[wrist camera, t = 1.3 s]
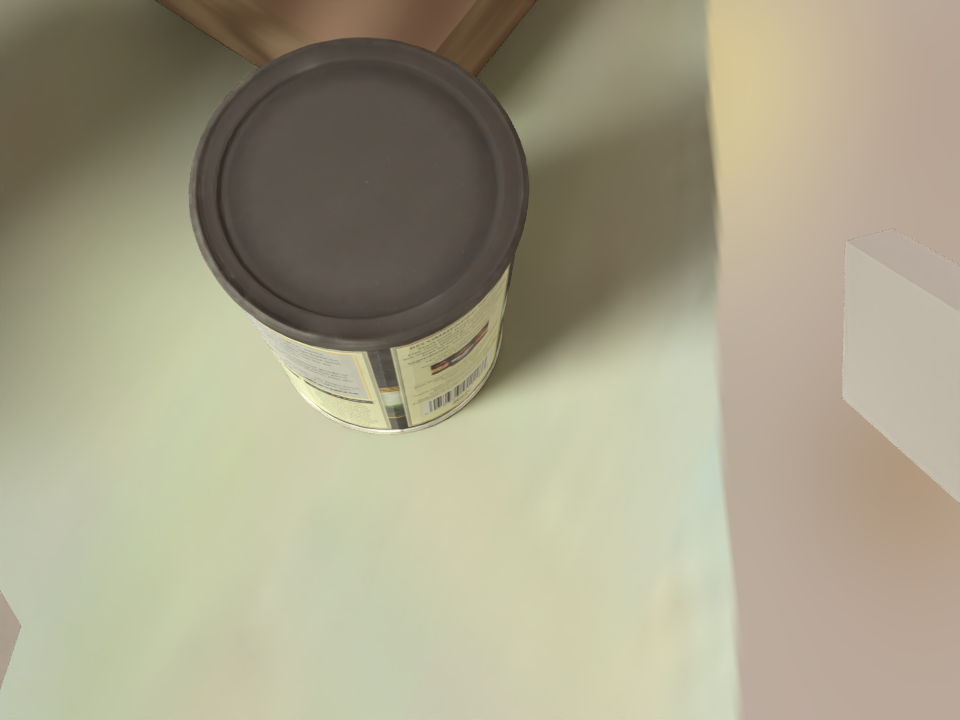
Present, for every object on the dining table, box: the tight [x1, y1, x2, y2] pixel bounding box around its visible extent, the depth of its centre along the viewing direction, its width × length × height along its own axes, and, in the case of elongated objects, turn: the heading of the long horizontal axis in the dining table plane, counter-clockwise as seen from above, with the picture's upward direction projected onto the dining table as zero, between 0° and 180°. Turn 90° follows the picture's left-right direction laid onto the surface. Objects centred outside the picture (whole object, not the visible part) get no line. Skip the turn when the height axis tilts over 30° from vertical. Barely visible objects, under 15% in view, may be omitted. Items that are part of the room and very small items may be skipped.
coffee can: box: [189, 37, 529, 434], centre depth 34 cm, size 10×10×14 cm
